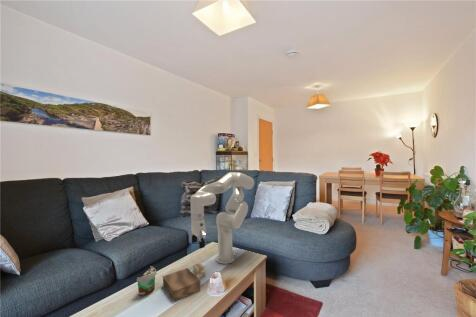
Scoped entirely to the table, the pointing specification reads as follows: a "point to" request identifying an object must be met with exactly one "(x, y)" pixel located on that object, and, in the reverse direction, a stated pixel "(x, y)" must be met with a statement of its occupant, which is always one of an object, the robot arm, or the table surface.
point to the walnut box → (181, 284)
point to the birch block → (199, 270)
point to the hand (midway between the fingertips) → (198, 244)
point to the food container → (147, 282)
